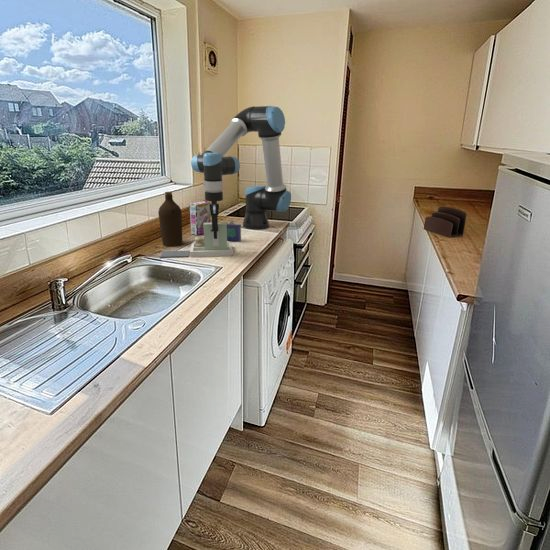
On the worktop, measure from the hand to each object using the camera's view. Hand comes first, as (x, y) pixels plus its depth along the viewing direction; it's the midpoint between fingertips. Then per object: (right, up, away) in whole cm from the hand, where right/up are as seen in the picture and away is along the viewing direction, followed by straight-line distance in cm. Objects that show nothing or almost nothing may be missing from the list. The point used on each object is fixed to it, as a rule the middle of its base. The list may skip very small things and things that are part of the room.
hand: (215, 243), depth 167 cm
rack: (-2, -3, +4) cm, 6 cm away
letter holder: (+122, +10, +46) cm, 131 cm away
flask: (+5, +3, +22) cm, 23 cm away
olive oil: (-23, +1, +15) cm, 28 cm away
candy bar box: (-14, +9, +35) cm, 39 cm away
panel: (0, -4, +2) cm, 5 cm away
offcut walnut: (-7, -3, +7) cm, 10 cm away
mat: (-18, -5, -1) cm, 19 cm away
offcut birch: (-7, 0, +5) cm, 9 cm away
